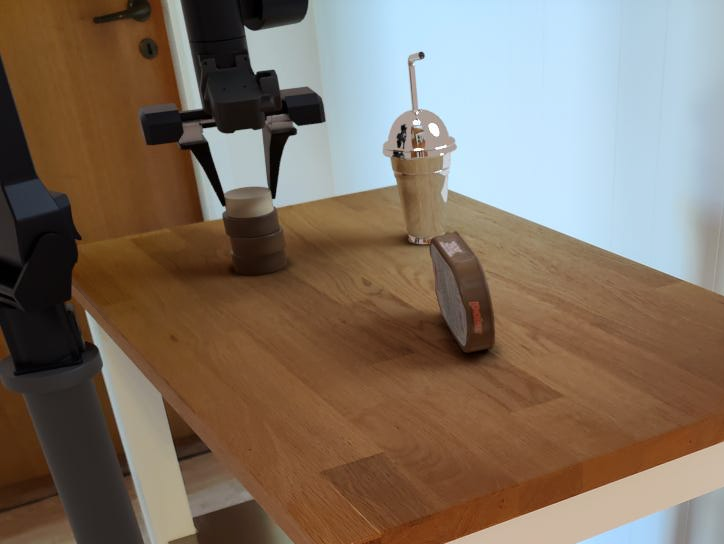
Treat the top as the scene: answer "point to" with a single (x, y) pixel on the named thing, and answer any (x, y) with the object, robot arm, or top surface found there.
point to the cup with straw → (421, 166)
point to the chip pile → (256, 243)
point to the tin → (463, 292)
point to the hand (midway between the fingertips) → (248, 202)
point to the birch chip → (248, 202)
